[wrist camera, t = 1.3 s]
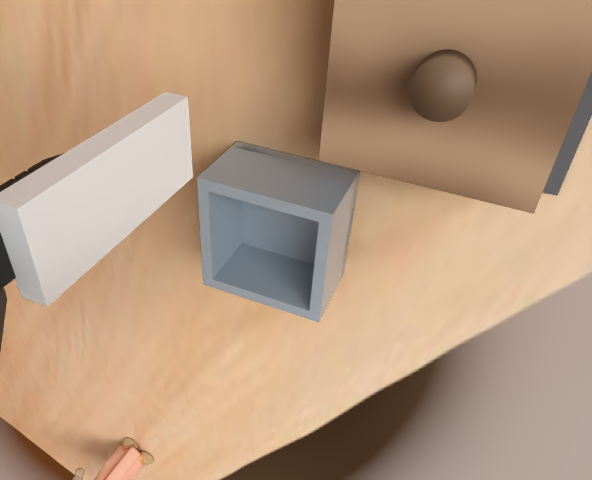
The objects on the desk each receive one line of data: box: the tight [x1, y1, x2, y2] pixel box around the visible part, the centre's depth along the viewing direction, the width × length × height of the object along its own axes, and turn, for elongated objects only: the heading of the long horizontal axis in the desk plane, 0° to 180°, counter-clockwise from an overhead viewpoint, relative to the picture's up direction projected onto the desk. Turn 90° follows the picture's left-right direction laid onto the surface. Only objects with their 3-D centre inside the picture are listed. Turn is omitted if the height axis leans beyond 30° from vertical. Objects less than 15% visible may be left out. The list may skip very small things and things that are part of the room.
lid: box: [319, 0, 592, 214], centre depth 23 cm, size 10×10×6 cm
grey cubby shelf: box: [197, 141, 360, 322], centre depth 33 cm, size 8×8×5 cm
